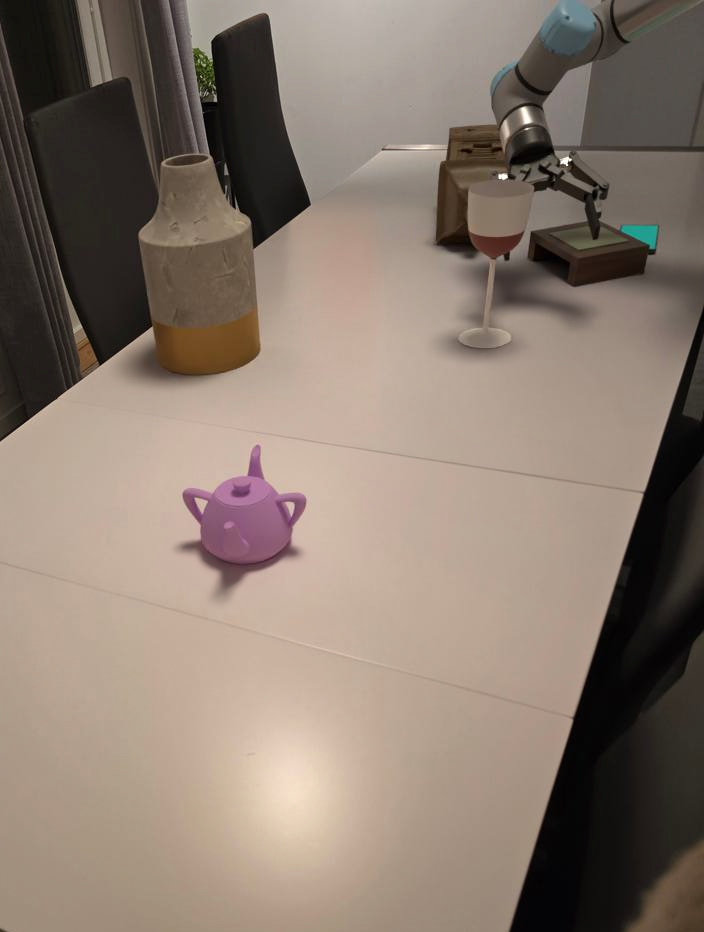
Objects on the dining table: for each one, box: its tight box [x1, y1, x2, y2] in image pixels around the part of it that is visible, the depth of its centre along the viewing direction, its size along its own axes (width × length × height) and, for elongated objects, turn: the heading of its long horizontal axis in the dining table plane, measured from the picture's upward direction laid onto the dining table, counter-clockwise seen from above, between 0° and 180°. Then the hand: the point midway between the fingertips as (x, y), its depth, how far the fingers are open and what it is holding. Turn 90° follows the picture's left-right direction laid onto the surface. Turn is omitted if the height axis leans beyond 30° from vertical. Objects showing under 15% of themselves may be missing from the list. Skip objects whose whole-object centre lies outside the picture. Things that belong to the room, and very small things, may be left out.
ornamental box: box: [434, 124, 508, 245], centre depth 176 cm, size 35×18×18 cm, turn 164°
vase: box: [138, 153, 261, 376], centre depth 138 cm, size 18×18×30 cm
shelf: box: [526, 220, 650, 287], centre depth 159 cm, size 18×14×5 cm
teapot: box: [181, 444, 307, 565], centre depth 101 cm, size 12×14×9 cm
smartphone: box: [619, 224, 660, 254], centre depth 167 cm, size 7×1×15 cm
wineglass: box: [458, 180, 535, 349], centre depth 134 cm, size 9×10×23 cm
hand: (551, 244), depth 133 cm, fingers open, 13 cm apart
